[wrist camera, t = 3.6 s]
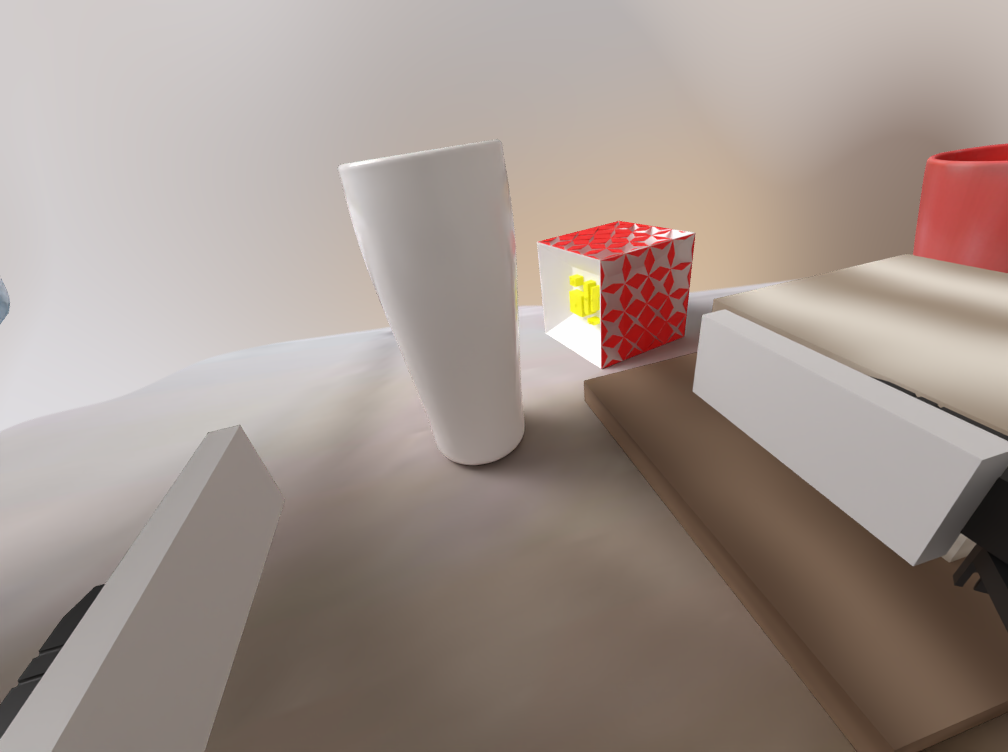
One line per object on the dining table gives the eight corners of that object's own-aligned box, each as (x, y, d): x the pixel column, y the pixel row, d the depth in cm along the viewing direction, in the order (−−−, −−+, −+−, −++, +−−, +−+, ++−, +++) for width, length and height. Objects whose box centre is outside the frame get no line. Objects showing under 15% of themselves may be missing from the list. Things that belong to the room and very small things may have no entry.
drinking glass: (475, 395, 28) (425, 150, 20) (560, 422, 24) (536, 133, 16) (401, 453, 23) (300, 170, 16) (489, 499, 19) (412, 152, 12)
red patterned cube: (545, 333, 35) (536, 241, 31) (617, 309, 37) (618, 220, 33) (602, 370, 28) (601, 260, 24) (685, 337, 31) (696, 232, 27)
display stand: (873, 771, 10) (1002, 643, 7) (584, 400, 25) (580, 305, 22) (1468, 507, 13) (1754, 333, 10) (894, 319, 29) (932, 225, 25)
